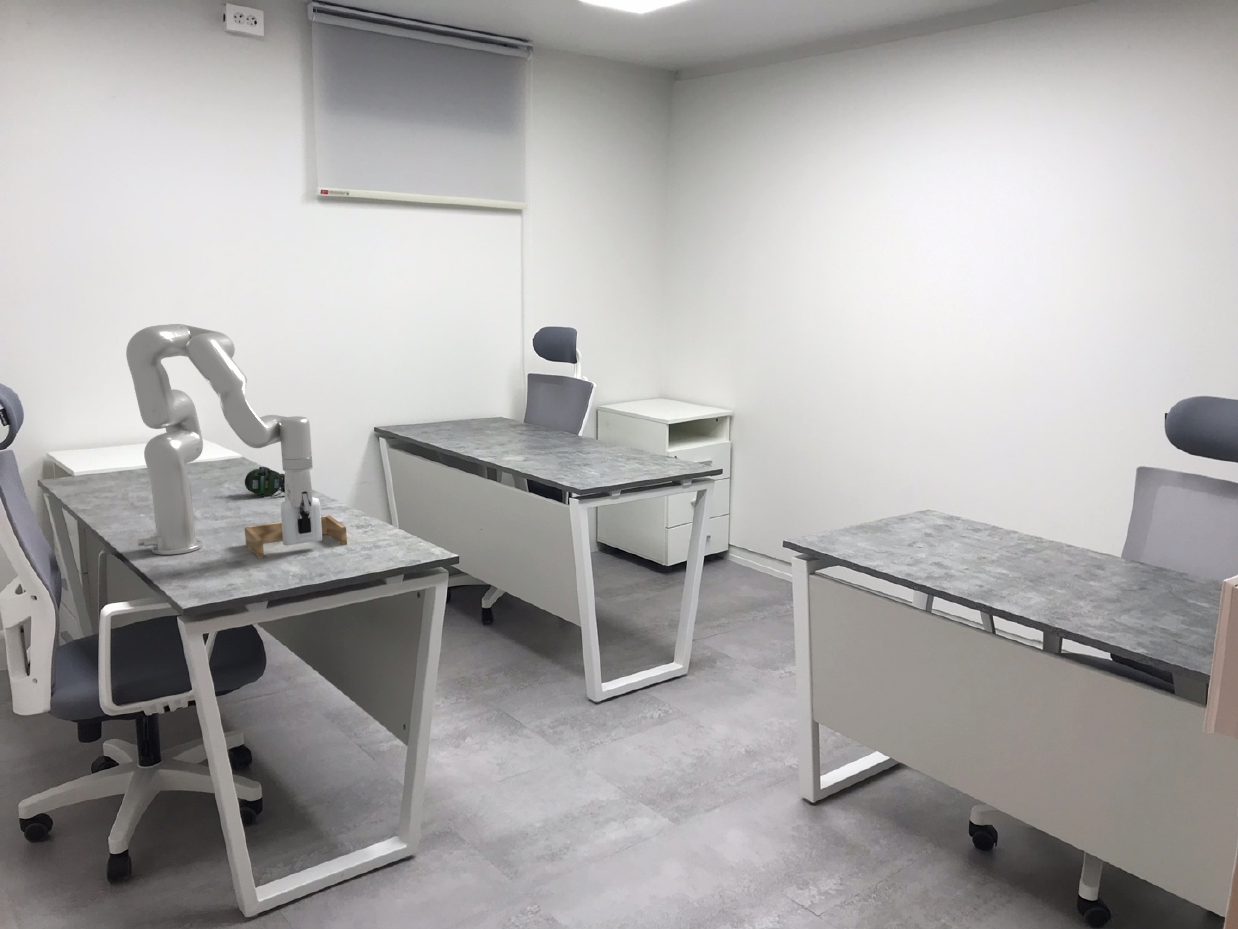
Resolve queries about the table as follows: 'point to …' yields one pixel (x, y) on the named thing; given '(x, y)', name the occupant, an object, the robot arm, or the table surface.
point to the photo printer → (291, 524)
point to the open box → (274, 533)
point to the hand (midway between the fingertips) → (302, 530)
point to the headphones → (265, 482)
